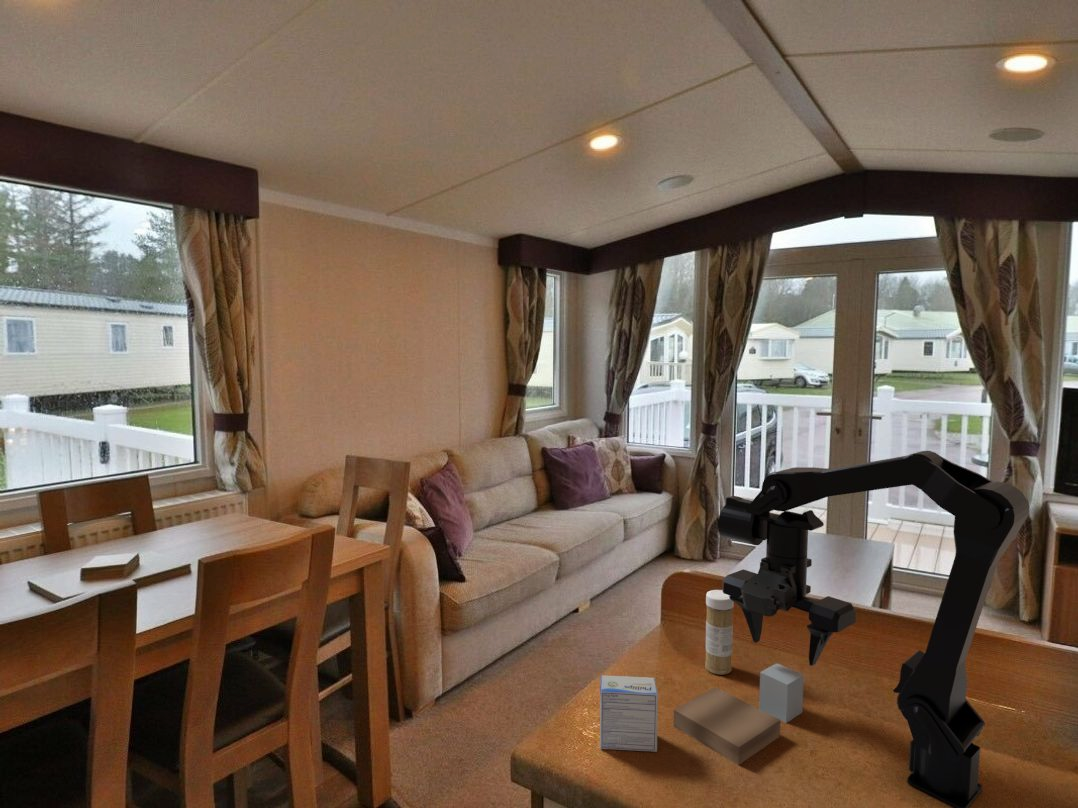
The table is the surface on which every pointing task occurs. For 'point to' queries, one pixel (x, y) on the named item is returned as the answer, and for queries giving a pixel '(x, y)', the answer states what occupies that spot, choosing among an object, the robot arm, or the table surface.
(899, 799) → the table surface
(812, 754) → the table surface
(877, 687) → the table surface
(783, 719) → the grey block
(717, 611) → the sprinkles bottle
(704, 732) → the brown flat block
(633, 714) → the medicine box
